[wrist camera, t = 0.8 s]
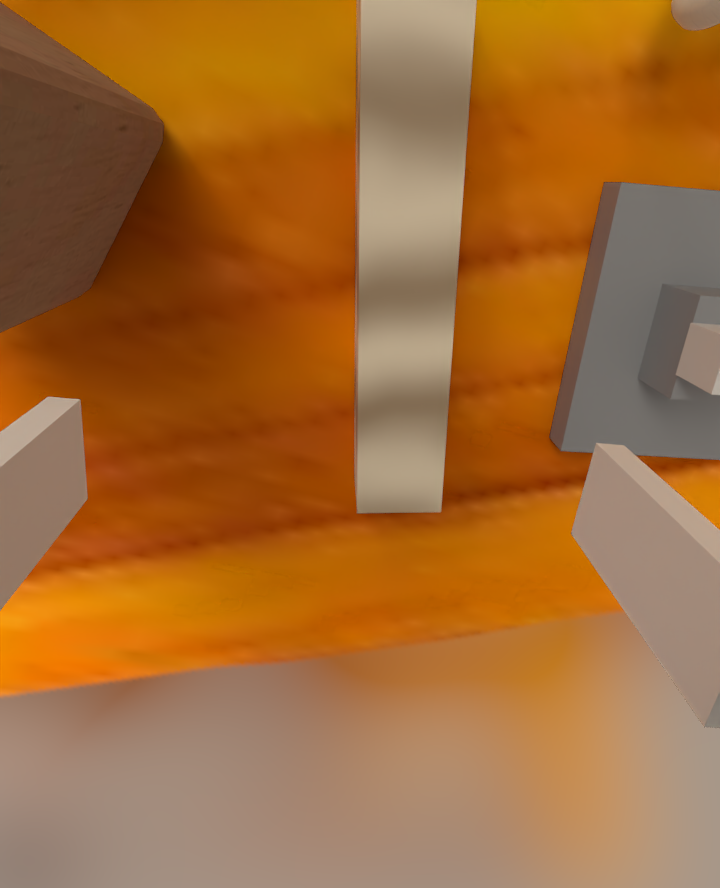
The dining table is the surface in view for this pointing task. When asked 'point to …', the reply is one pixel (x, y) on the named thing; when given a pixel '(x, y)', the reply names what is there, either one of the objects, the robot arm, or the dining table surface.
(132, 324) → the dining table surface
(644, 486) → the robot arm
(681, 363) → the fulcrum
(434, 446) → the batten
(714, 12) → the floral ceramic pitcher
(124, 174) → the wooden block
